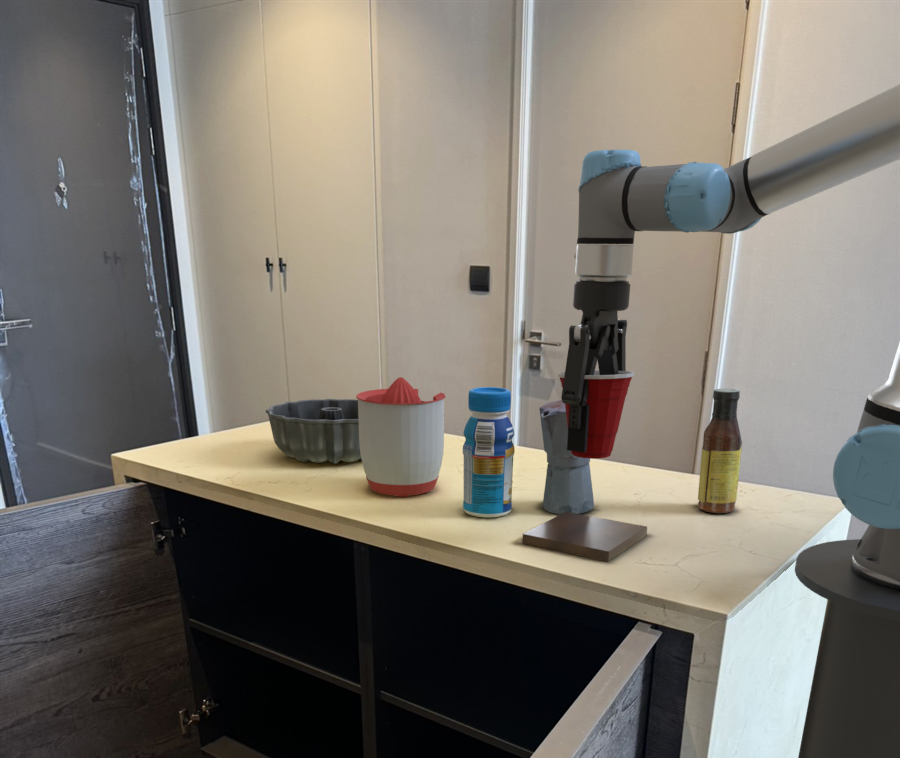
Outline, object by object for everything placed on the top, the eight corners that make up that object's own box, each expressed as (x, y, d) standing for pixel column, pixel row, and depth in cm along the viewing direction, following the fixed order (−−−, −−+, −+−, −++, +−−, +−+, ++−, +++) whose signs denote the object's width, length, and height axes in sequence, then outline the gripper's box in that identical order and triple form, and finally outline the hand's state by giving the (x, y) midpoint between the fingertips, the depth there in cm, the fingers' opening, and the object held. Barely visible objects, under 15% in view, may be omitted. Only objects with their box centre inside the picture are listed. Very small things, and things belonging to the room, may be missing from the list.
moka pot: (517, 511, 144) (521, 390, 137) (571, 493, 155) (578, 379, 147) (564, 523, 138) (571, 396, 131) (617, 503, 149) (626, 385, 141)
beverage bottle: (451, 510, 145) (452, 389, 137) (490, 501, 150) (493, 384, 142) (483, 522, 139) (486, 396, 131) (522, 513, 143) (527, 391, 136)
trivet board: (646, 535, 133) (647, 526, 132) (608, 561, 122) (609, 551, 121) (565, 520, 140) (565, 511, 139) (522, 543, 129) (522, 533, 128)
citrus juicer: (469, 486, 159) (470, 375, 151) (402, 506, 147) (400, 387, 139) (409, 472, 168) (407, 367, 161) (341, 489, 157) (336, 377, 149)
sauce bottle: (742, 510, 145) (759, 390, 137) (718, 517, 142) (734, 394, 134) (711, 502, 150) (725, 385, 142) (687, 507, 147) (700, 389, 139)
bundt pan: (363, 437, 198) (361, 393, 194) (419, 461, 177) (418, 412, 173) (252, 450, 185) (248, 403, 182) (298, 477, 165) (295, 425, 161)
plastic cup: (606, 444, 132) (612, 363, 127) (642, 459, 123) (650, 373, 118) (541, 448, 129) (544, 366, 124) (573, 465, 119) (578, 376, 115)
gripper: (610, 276, 127) (599, 429, 135) (539, 281, 110) (532, 455, 119) (658, 277, 123) (644, 435, 131) (593, 282, 106) (581, 462, 115)
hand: (591, 444), depth 125 cm, fingers closed on plastic cup, 9 cm apart
